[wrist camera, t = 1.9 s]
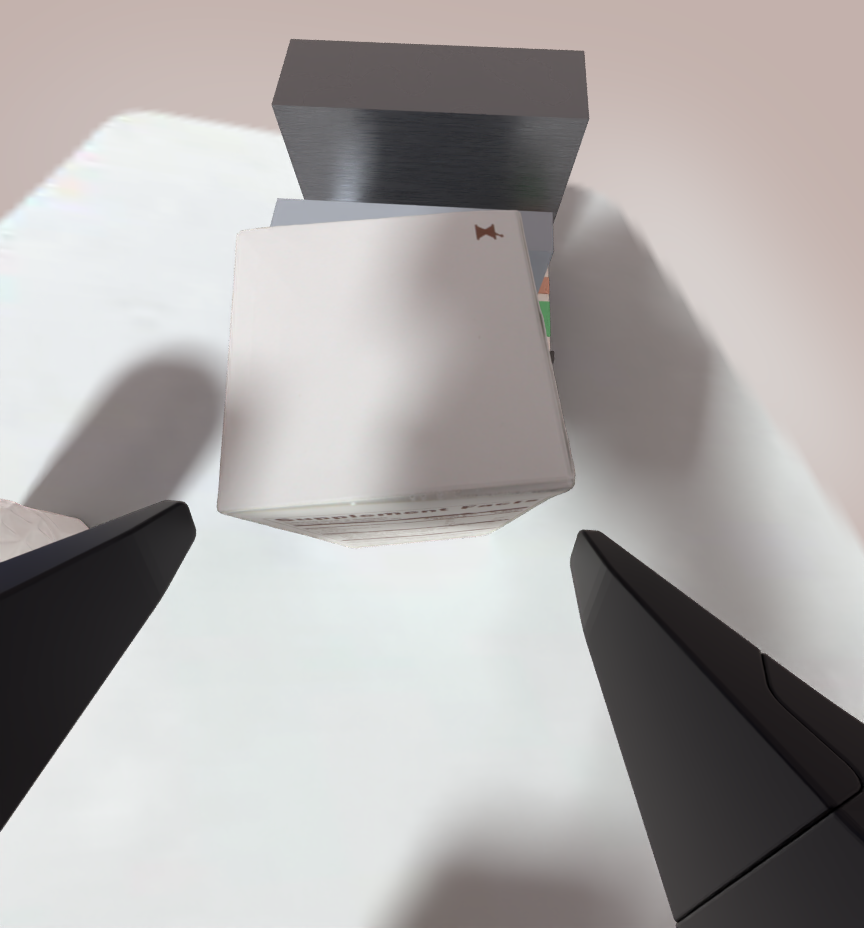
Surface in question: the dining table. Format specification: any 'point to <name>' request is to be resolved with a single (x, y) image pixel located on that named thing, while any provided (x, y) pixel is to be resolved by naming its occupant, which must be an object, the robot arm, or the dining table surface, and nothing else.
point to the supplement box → (389, 381)
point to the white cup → (32, 528)
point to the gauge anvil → (433, 125)
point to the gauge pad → (317, 211)
